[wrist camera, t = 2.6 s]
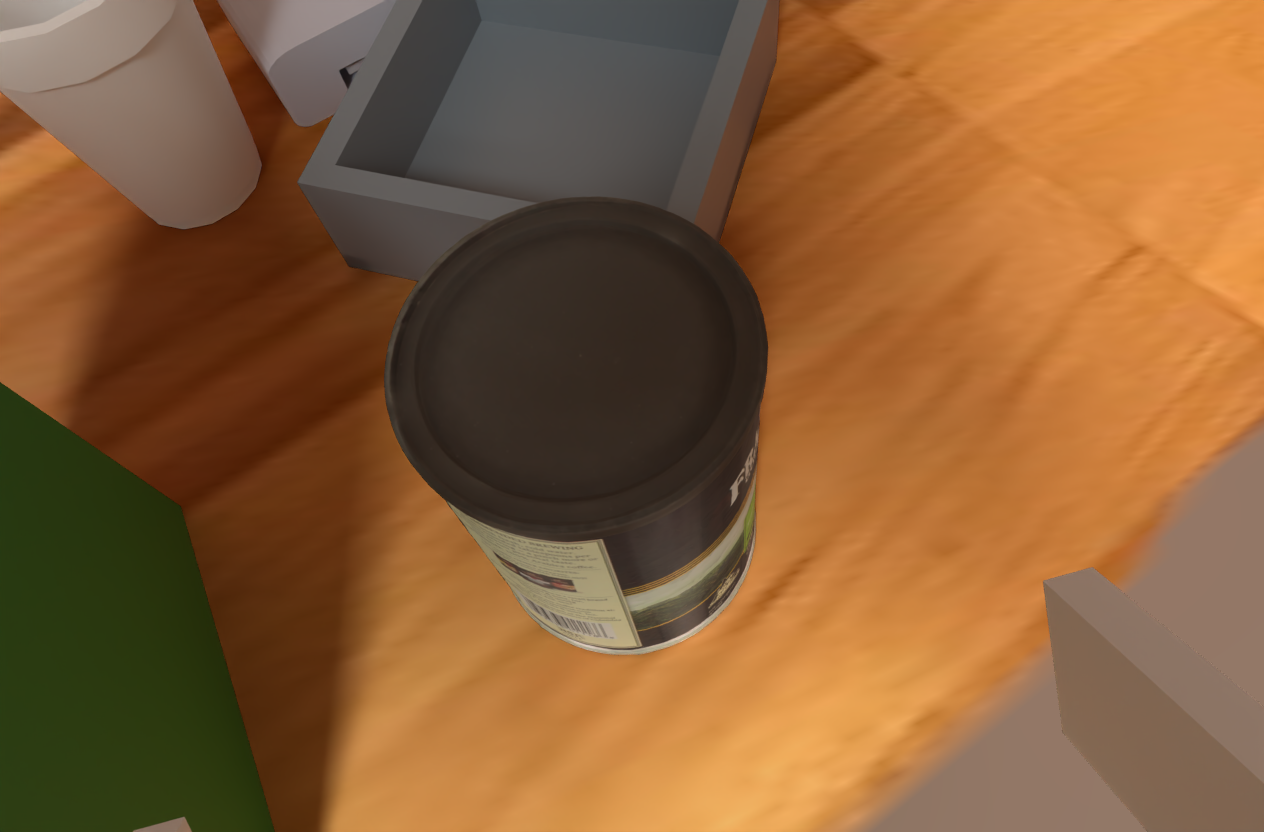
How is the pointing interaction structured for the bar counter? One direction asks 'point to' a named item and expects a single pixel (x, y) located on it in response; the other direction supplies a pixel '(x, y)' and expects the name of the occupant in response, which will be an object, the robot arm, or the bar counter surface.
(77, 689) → the hardback book
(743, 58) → the tray
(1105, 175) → the bar counter surface
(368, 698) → the bar counter surface
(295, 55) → the charger
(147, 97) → the foam cup
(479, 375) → the coffee can
